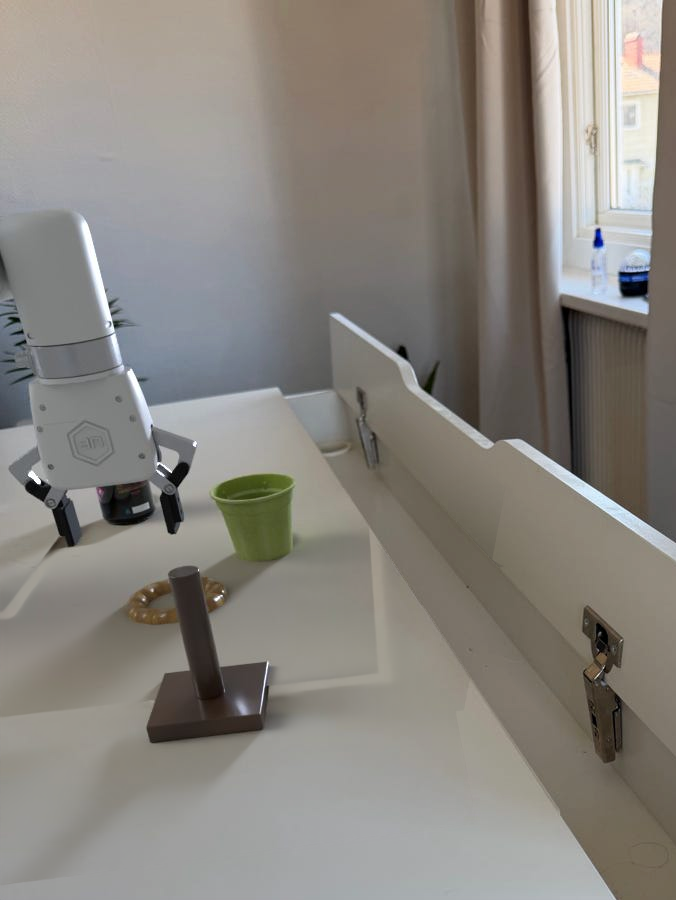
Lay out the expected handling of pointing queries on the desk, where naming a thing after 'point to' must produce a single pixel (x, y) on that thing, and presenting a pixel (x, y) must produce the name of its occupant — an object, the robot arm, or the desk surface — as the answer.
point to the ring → (142, 614)
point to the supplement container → (126, 502)
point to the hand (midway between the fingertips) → (125, 535)
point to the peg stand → (205, 677)
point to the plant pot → (257, 514)
